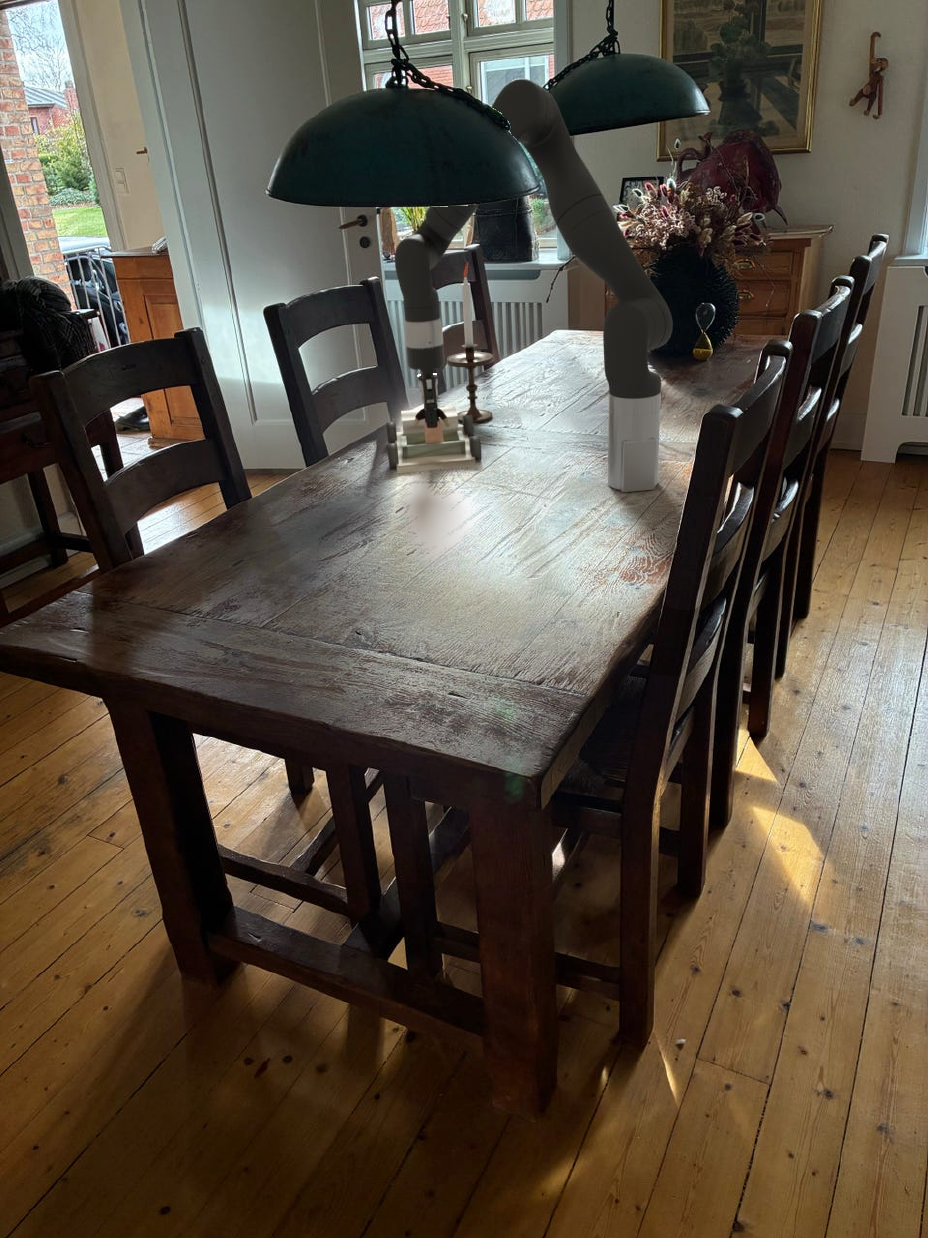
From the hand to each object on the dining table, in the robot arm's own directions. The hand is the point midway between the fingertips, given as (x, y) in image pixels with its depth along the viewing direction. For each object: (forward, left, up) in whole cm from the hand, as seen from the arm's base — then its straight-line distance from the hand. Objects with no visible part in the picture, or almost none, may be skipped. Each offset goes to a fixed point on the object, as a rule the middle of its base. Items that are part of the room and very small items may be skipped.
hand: (431, 421), depth 191 cm
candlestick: (+26, -11, -8) cm, 29 cm away
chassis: (+3, 0, -7) cm, 8 cm away
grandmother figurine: (0, 0, -6) cm, 6 cm away
